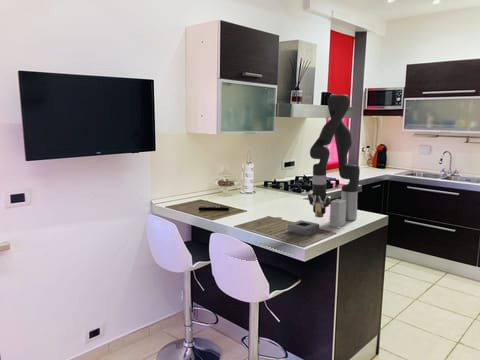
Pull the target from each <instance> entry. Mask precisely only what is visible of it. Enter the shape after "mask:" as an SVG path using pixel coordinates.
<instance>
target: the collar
mask: <svg viewBox="0 0 480 360" xmlns="http://www.w3.org/2000/svg"><path fill="white" fill-rule="evenodd" d="M287 232H288V233H291V234H296V235H301V236H304V237H309V236H311V235H313V234H316V233H318V232H320V223H316V222H311V221H305V220H298V221H295V222H291V223H289V224H287Z"/></svg>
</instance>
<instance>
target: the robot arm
mask: <svg viewBox="0 0 480 360" xmlns="http://www.w3.org/2000/svg"><path fill="white" fill-rule="evenodd" d="M350 99H351V98H350V96H349V95H348V94H333V95H330V96H328V99H327V108H328V113H329V116H330V119H329V120H328V121H327V122H326V123H325V124H324V126H323V127H322V129H321V131H320V134H319V136H318V138H317V139H316V141H315V142H314V143H313V144H312V145H311V147H310V150H309V156H310V157H311V159H313V160H319V162H317V163H315V164H313V166H312V181H311V182H312V183H311V184H312V190H311V191H312V193H307V198H308V202H309V205H311V206H312V211H313V213H314V214H315V202H316V201H320V204H321V206H322V214H323V215H325V214H326V212H327V210H326V208H328V207H329V206H330V204H331V201H332V200H331V199H332V196H329V195H327V184H328V183H327V166H328V163H329V158H330V154H331V153H330V149H329V148H328V147H327V146H330V144H331V143H332V141H333V138H334V141H335V142H334V143H335V147H336V153H337V154H336V155H337V160H338V161H337V163H338V164H337V165H338V173H339V176H340V178H341V179H343V180H349V182H348V183H347V184H343V185H342V186H341V196H340V197H341V198H340V199H342V200H346V221H356V220H357V216H358V188H359V183H360V175H361V174H360V173H361V172H360V166H359V165H357V164H354V163H353V164H352V163H348V157H347V156H348V154H349V151H350V150H351V147H352V144H353V140H352V132H351V131H350V128H349V127H348V126H347V124H346V123H345V122H344V120H343V119H344V117H345V115H346V114H347V112H348V110H349V108H350V105H351V100H350Z"/></svg>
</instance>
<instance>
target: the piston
mask: <svg viewBox="0 0 480 360" xmlns="http://www.w3.org/2000/svg"><path fill="white" fill-rule="evenodd" d="M314 215H315V216H314V217H315V218H324V214H322V206H321V204H320V201H316V202H315V213H314Z"/></svg>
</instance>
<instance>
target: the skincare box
mask: <svg viewBox="0 0 480 360" xmlns="http://www.w3.org/2000/svg"><path fill="white" fill-rule="evenodd" d="M329 206H330V207H329V209H330V211H329V227H331V228H332V227H333V228H337V229H340V228H341V227H344V226H345V225H346V221H347V220H346V200H342V199H341V198H336V199H333V200H330V204H329Z"/></svg>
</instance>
